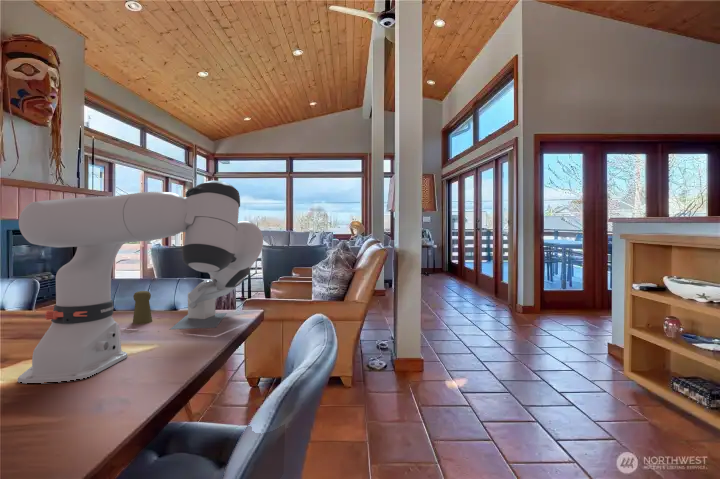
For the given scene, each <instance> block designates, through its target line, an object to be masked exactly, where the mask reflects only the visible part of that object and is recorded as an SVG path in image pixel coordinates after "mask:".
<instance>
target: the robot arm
mask: <svg viewBox="0 0 720 479" xmlns="http://www.w3.org/2000/svg"><path fill="white" fill-rule="evenodd" d="M240 207H241V197H240V193H239V191H238V189H237V188H236V187H235V186H233V185H231V184H230V183H228V182H224V181H221V180H208V181H204V182H202V183H198V184H197V185H195V186H194V187H191V188H189V189H187V191H186V192H185V196H181V195H179V194H177V193H174V192H168V191H145V192H144V191H143V192H137V193H129V194H127V193H126V194H120V195H112V196H93V197H92V196H91V197H90V196H89V197H87V196H86V197H73V198H59V199H58V198H57V199H46V200H39V201H31V202H30V203H28V204H27V205H25V207H24V208H23V209H22V211H21V212H20V214H19V218H18V228H19V231H20V233H21V235H22V236H23V238H24V239H25V240H26V241H27V242H28V243H30V244H32V245H37V246H42V247H50V248H73V247H74V248H76V251H75V254H74V256H73V257H72V258H71V259H70V261H68V262H67V263H66V264H64V265H62V266H61V267H60V268H59V269H58V270H57V271H56V275H55V302H56V303H55V305H54V306H53V310H47V311H46V312H45V314H44V315H45V316H44V318H45V320H49V321H50V320H51V323H50V326H49V327H48V328H47V331H45V333H44V335H43V336H42V337H41V339H40V340H39V341H38V344H37V345H36V346H35V348H34V349H33V352H32V361H31V366H30V367H29V368H27V369H26V370H25V371H24V372H23V373H22V374H20V375H19V376H18V377H17V383H20V382H22V383H21V384H27V383H41V384H45V383H44V382H58V383H62V382H61V381H67V382H71V381H70V380H74V381H77V380H76V379H80V380H84V379H83V378H85V379H88V378H87V377H89V378H91V377H93V376H94V374H95V375H96V373H97V374H98V373H100V372H102V371H104V370H106V369H107V368H109V367H112V366H114V365H115V364H117V363H119V362H120V361H121V362H122V361H123V360H125V359H126V358H128V352H126V351H122V340H121V330H120V329H121V328H120V324H119V323H118V322H117V321H115V319H114V318H113V314H114V308H115V307H114V301H113V300H112V289H111V288H112V271H113V266H114V263H115V259H116V257H117V254H118V253H119V251H120V250H121V248H122V247H123V245H124V244H125V243H127V244H128V243H135V242H147V241H157V240H161V239H165V238H168V237H173V236H175V235H178V234H180V233H184V242H183V246H182V247H181V248H182V249H181V250H182V252H181V257H182V262H183V263H184V264H185V265H186V266H187V267H188V268H190V269H193V270H195V271H196V272H201V273H207V274H209V277H210V279H209V280H204V281H201V282H200V283H198V284H197V285H196V286H195V287H194V288H193V289H192V290H191V291H190V293H189V292H188V293H189V295H188V294H187V299H188V298H189V299H190V300H191V303H190V304H189V307H190V308H191V309H193V308H195V307H196V306H197V303H199V302H202V301H206V300H209V299H213V298H215V301H216V300H218V299H219V298H220V297H223V296H227V295H229V294H230V293H231V292H233V290H234V289H236V287H238V286H240V285H241V284H242V283H243V281H244V280H245V278H246V277H248V275H249V274H250V269H251V268H252V267H253V265H254V264H255V263H256V261H257V260H258V258H259V257H260V255H261V252H262V250H263V246H264V237H263V232H262V230H261V229H260V228H259V227H258V225H256V224H255V223H253V222H251V221H248V220H239V214H240V212H239V211H240ZM92 375H93V376H92ZM90 376H91V377H90Z"/></svg>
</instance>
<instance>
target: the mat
mask: <svg viewBox="0 0 720 479" xmlns="http://www.w3.org/2000/svg"><path fill="white" fill-rule="evenodd" d="M227 314H228V313H227V312H224V313H223V312H221V313H216V312H215V315H214V316H211V317H209V318H206V319H195V318H188V313H187V314H186V315H185V316H184V317H183V318H181V319H180V320H179V321H178V322H177V323H176V324H174V325H173V326H172V327H171V328H169V330H189V329H190V330H191V329H194V330H195V329H216V328H217V327H218V326H219V325H220V323H221V322H222V321H223V319H224V318H225V317H226V315H227Z"/></svg>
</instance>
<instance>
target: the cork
mask: <svg viewBox="0 0 720 479" xmlns="http://www.w3.org/2000/svg"><path fill="white" fill-rule="evenodd" d="M151 297H152V294H151V292H150V291H148V290H139V291H135V292H134V293H133V297H132V298H133V300H134V308H133V318H132V324H133V325H145V324H150V323H152V322H153V317H152V310H151V306H150V305H151V304H150V303H151V302H150V300H151Z"/></svg>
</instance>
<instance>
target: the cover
mask: <svg viewBox="0 0 720 479" xmlns="http://www.w3.org/2000/svg"><path fill="white" fill-rule="evenodd" d="M190 292H191V291H190ZM190 292H187V296H188V295H189V293H190ZM190 303H191V300H190V299H189V298H188V297H187V314H188V318H195V319H206V318H209V317H211V316H214V315H215V313H216V300H215V298H213V299H209V300H206V301H202V302H199V303H197V306H196V307H195V308H193V309H191V308H190V307H189V304H190Z"/></svg>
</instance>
